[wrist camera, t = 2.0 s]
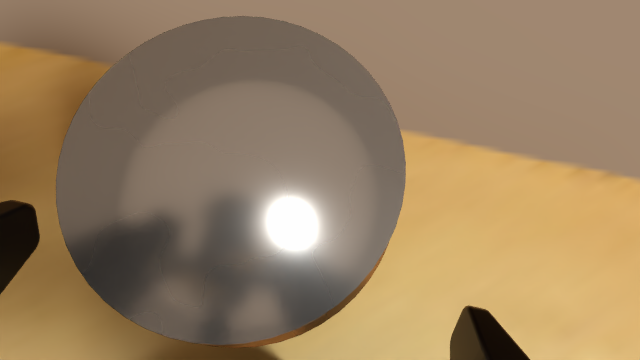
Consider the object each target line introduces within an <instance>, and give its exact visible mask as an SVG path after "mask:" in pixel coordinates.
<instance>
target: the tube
mask: <svg viewBox="0 0 640 360" xmlns="http://www.w3.org/2000/svg"><path fill="white" fill-rule="evenodd" d="M405 166H406V162H405V154H404V146H403V140H402V136H401V133H400V129H399V125H398V122H397V119H396V117H395V115H394V112H393V110H392V107H391V105H390V103H389V101H388V99H387V98H386V96H385V94H384V93H383V91H382V89H381V88H380V86H379V85H378V83H377V82H376V81H375V80H374V78H373V77H372V76H371V75H370V73H369V72H368V71H367V70H366V69H365V68H364V67H363V66H362V65H361V64H360V63H359V62H358V61H357V60H356V59H355V58H354V57H353V56H352V55H351V54H349V53H348V52H347V51H345V50H344V49H343V48H341V47H340V46H339V45H337V44H336V43H334V42H332V41H330V40H329V39H327V38H325V37H324V36H321V35H320V34H318V33H315V32H313V31H311V30H308V29H306V28H304V27H301V26H298V25H294V24H291V23H288V22H284V21H280V20H274V19H269V18H263V17H248V16H237V17H236V16H235V17H220V18H213V19H207V20H202V21H198V22H194V23H190V24H186V25H182V26H180V27H177V28H175V29H172V30H169V31H167V32H164V33H162V34H160V35H158V36H156V37H154V38H152V39H150V40H148V41H147V42H145V43H143V44H142V45H140V46H139V47H137V48H135V49H134V50H132V51H131V52H129V53H128V54H127V55H125V56H124V57H123V58H122V59H121V60H119V61H118V62H117V63H116V64H114V65H113V66H112V67H111V68H110V69H109V70H108V71H107V72H106V73H105V74H104V75H103V76H102V77H101V78H100V79H99V81H98V82H97V83H96V84H95V85H94V87H93V88H92V89H91V91H90V92H89V93H88V95H87V96H86V97H85V99H84V100H83V102H82V103H81V105H80V107H79V109H78V110H77V112H76V114H75V116H74V117H73V119H72V122H71V124H70V126H69V129H68V131H67V134H66V136H65V139H64V142H63V146H62V149H61V153H60V157H59V162H58V169H57V177H56V204H57V211H58V217H59V224H60V227H61V230H62V234H63V237H64V240H65V243H66V246H67V248H68V250H69V252H70V254H71V257H72V259H73V261H74V263H75V265H76V267H77V268H78V269H79V271H80V272H81V274H82V275H83V277H84V278H85V280H86V281H87V282H88V284H89V285H90V286H91V287H92V288H93V289H94V291H95V292H96V293H97V294H98V295H99V296H100V297H101V298H102V299H103V300H104V301H105V302H106V303H107V304H109V305H110V306H111V307H112V308H114V309H115V310H116V311H118V312H119V313H120V314H121V315H123V316H124V317H126V318H127V319H129V320H131V321H133V322H135V323H136V324H138V325H140V326H142V327H143V328H145V329H148V330H150V331H153V332H156V333H158V334H161V335H163V336H166V337H169V338H173V339H177V340H182V341H187V342H191V343H199V344H205V345H209V346H215V347H229V348H243V347H258V346H263V345H268V344H273V343H278V342H281V341H284V340H287V339H290V338H293V337H296V336H298V335H301V334H303V333H305V332H307V331H309V330H311V329H313V328H315V327H317V326H319V325H321V324H322V323H324V322H325V321H326V320H328V319H329V318H331V317H332V316H334V315H335V314H337V313H338V312H339V311H340V310H341V309H343V308H344V307H345V306H346V305H347V304H348V303H349V302H350V301H351V300H352V299H353V298H355V297H356V295H357V294H358V293H359V292H360V291H361V289H362V288H363V287H364V286H365V285H366V283H367V282H368V281H369V279H370V278H371V276H372V275H373V273H374V271H375V270H376V268H377V267H378V265H379V263H380V261H381V259H382V257H383V255H384V253H385V250H386V248H387V246H388V244H389V240H390V238H391V236H392V234H393V231H394V229H395V227H396V224H397V220H398V217H399V214H400V210H401V207H402V202H403V195H404V189H405Z"/></svg>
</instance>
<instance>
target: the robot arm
mask: <svg viewBox="0 0 640 360" xmlns="http://www.w3.org/2000/svg"><path fill="white" fill-rule="evenodd" d="M39 239H40V234H39V228H38V223H37V217H36V211H35V208H34V207H33V206H32V205H31V204H28V203H24V202H20V201H15V200H10V201H5V202H1V203H0V294H1V293H2V292H3V290H4V289H5V288H6V286H7V285H8V284H9V283H10V281H11V280H12V279H13V277H14V276H15V275H16V274H17V272H18V271H19V270H20V268H21V267H22V266H23V265H24V263H25V262H26V261H27V259H28V258H29V257H30V255H31V254H32V253H33V252H34V250H35V249H36V247H37V245H38V243H39ZM450 360H530V359H529V358H528V356H527V355H526V354H525V353H524V352H523V351H522V349H521V348H520V347H519V346H518V345H517V344H516V342H515V341H514V340H513V339H512V338H511V337H510V335H509V334H508V333H507V332H506V331H505V330H504V329H503V327H502V326H501V325H500V324H499V323H498V322H497V320H496V319H495V318H494V317H493V316H492V315H491V313H490V312H489V311H487V310H485V309H482V308H478V307H473V306H466V307H465V308H464V309H463V310H462V312H461V315H460V317H459V319H458V322H457V324H456V326H455V329H454V331H453V333H452V336H451V341H450Z"/></svg>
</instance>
